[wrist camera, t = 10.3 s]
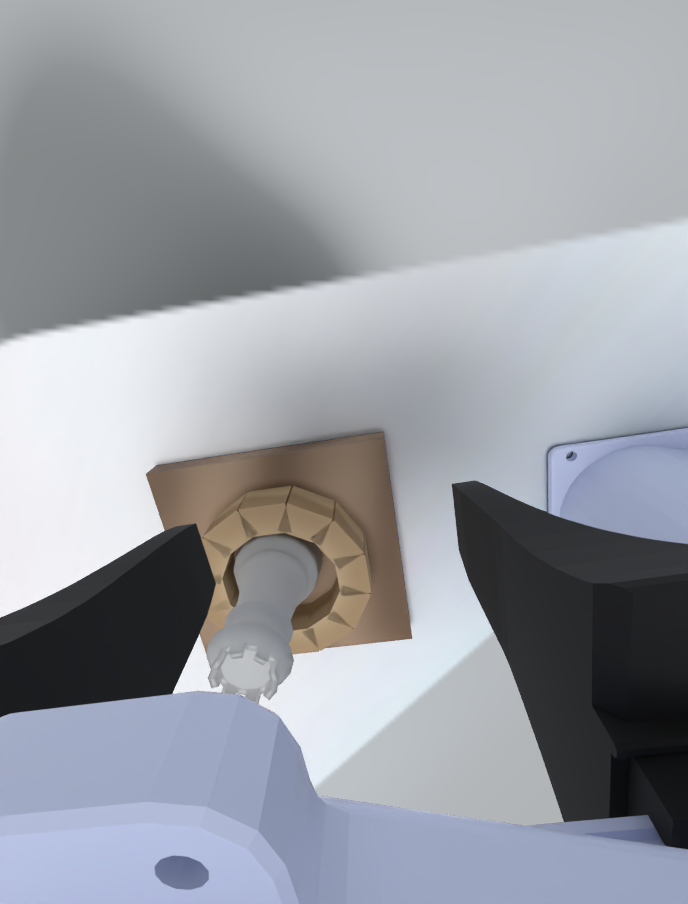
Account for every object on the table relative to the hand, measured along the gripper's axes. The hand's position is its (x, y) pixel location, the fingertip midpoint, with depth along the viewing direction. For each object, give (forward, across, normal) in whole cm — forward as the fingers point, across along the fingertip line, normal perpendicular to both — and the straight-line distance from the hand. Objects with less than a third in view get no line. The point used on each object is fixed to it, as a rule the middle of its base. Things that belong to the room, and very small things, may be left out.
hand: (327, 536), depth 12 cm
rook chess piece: (+9, +4, +6) cm, 12 cm away
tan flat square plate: (+10, +4, +6) cm, 13 cm away
